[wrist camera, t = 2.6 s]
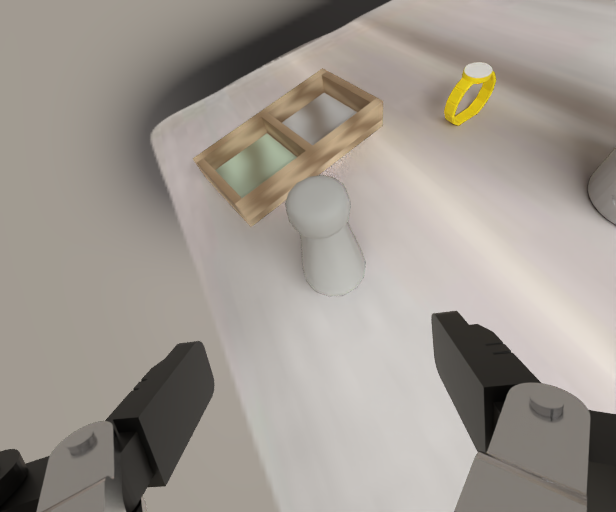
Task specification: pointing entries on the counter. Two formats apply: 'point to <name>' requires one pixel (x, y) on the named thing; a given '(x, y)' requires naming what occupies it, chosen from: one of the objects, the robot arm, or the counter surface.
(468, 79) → the watch
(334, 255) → the salt shaker
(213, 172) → the tray
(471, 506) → the robot arm
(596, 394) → the counter surface
